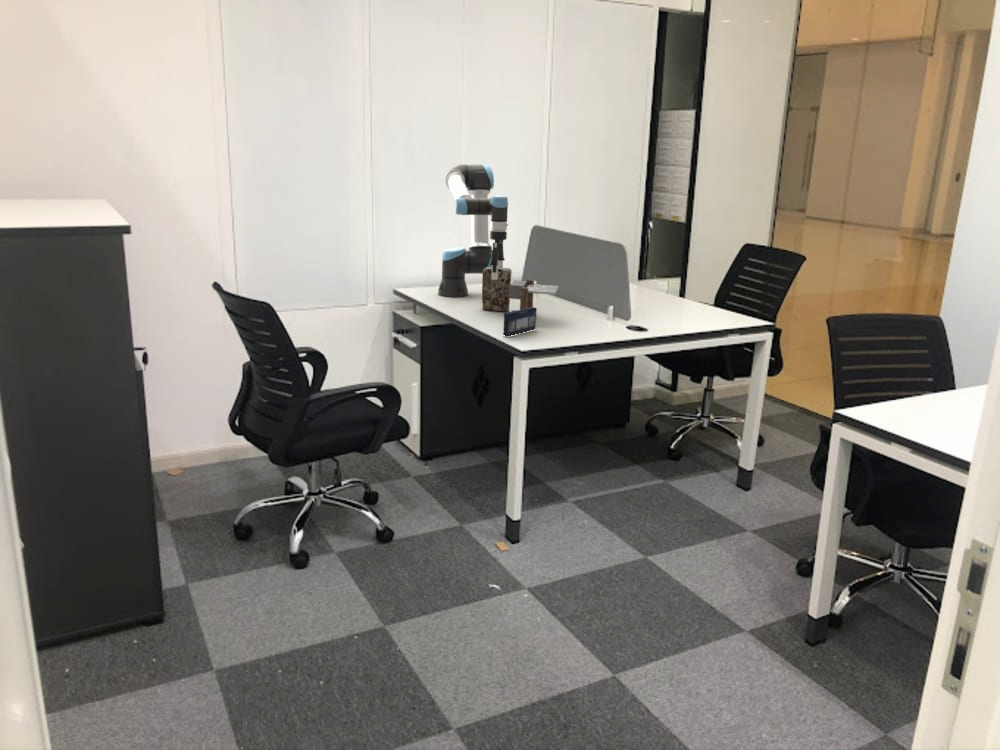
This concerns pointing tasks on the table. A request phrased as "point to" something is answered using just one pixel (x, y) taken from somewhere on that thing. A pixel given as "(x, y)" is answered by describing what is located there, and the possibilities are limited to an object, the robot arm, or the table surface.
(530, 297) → the trapdoor stand
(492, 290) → the stone block
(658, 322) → the table surface
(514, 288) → the trapdoor plate
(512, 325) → the vhs cassette tape
